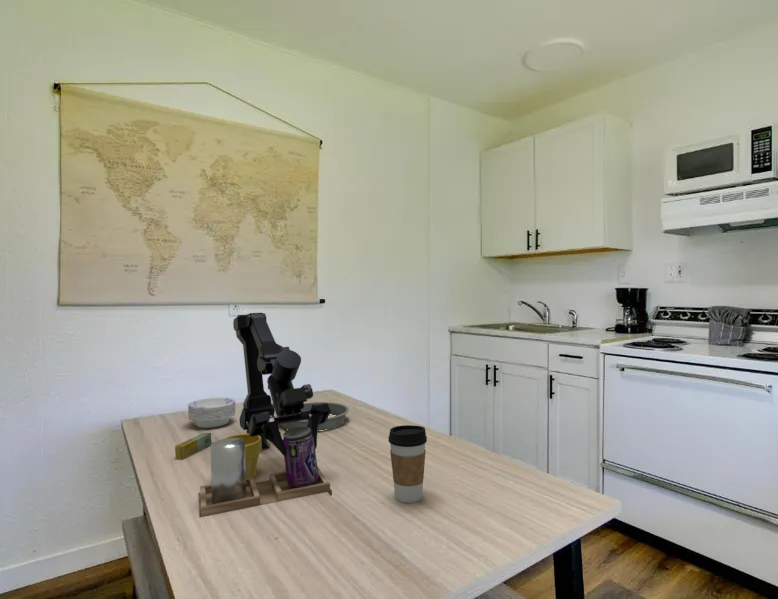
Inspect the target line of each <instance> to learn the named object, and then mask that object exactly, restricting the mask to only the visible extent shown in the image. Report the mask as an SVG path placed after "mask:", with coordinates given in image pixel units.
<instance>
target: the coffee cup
mask: <svg viewBox="0 0 778 599" xmlns="http://www.w3.org/2000/svg"><path fill="white" fill-rule="evenodd" d="M427 438H428V437H427V432H426V428H425V427H424V426H422V425H397V426H393V427H392V428H390V429H389V434H388V443H389V444H390V451H389V453H390V461H391V462H390V463H391V471H392V479H393V485H394V488H393V489H394V496H395V499H396V500H397V501H399V502H400V503H401V502H402V503H405V504H406V503H407V504H408V503H409V504H410V503H411V504H413V503H417V502H419V501H421V499H422V498H423V492H424V491H423V490H424V476H425V463H426V453H427V452H426V449H425V448H426V443H427V441H428V439H427Z"/></svg>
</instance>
